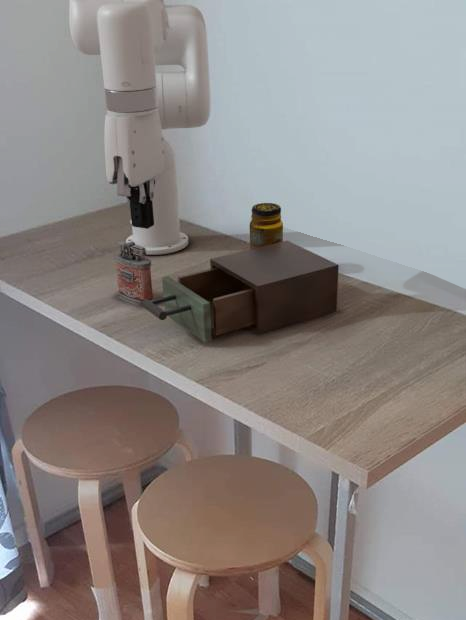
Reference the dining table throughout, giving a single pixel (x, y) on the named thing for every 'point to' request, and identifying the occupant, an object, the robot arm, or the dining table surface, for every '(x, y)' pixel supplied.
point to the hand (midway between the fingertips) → (143, 225)
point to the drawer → (206, 303)
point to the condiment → (265, 225)
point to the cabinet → (284, 283)
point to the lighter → (133, 273)
